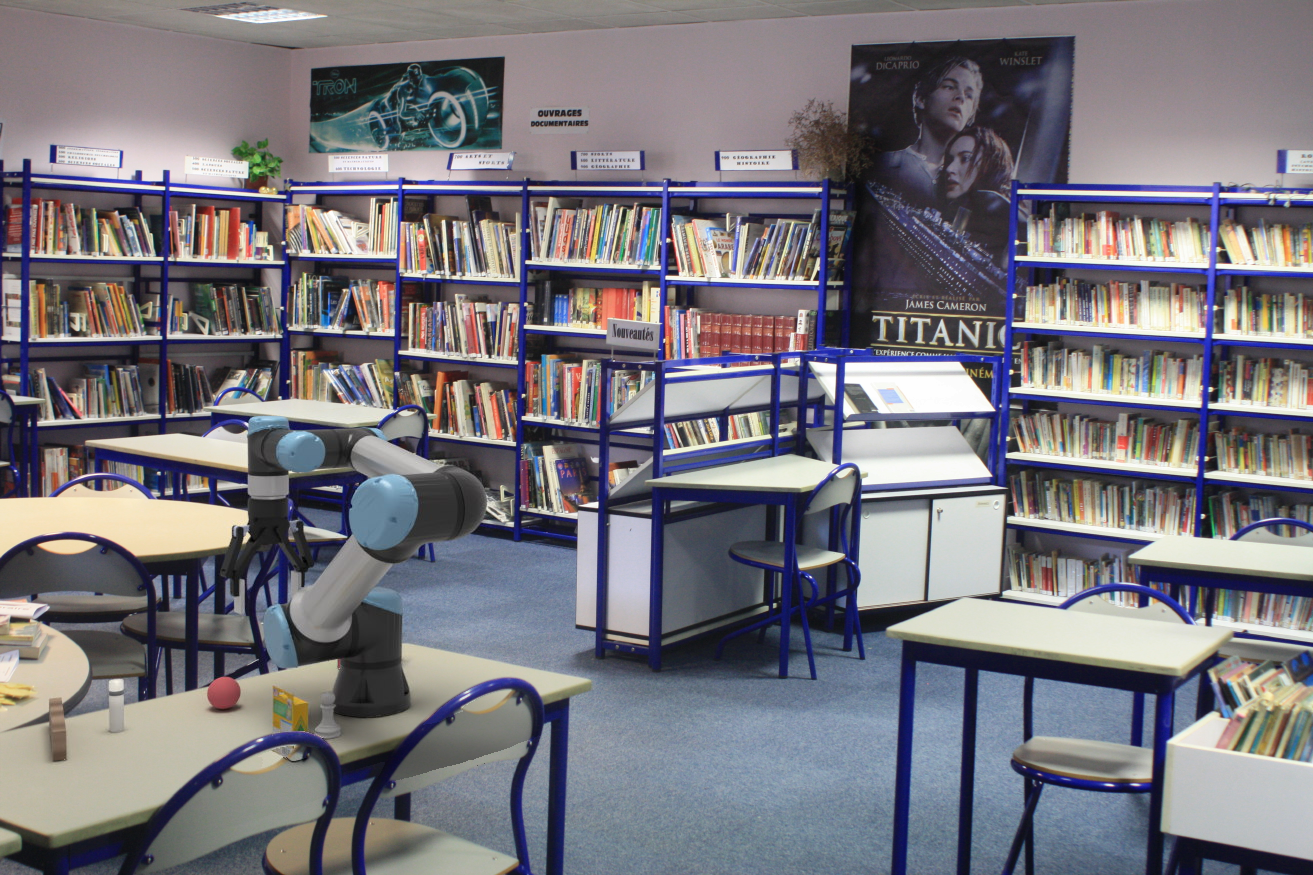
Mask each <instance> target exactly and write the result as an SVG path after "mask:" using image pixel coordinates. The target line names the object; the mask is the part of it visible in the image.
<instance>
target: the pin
mask: <svg viewBox="0 0 1313 875" xmlns="http://www.w3.org/2000/svg"><path fill="white" fill-rule="evenodd" d="M124 684H125V683H124V679H123V678H114V679H110V680H109V681H108V722H109V724H108V728H109V729H108V732H109V733H120V732H123V731H124V730H125V723H124V722H125V716H124V715H125V714H124V713H125V704H124V703H125V702H124V701H125V699H124V698H125V696H124V695H125V687H124Z"/></svg>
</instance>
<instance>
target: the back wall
mask: <svg viewBox="0 0 1313 875" xmlns="http://www.w3.org/2000/svg"><path fill="white" fill-rule="evenodd" d="M64 713H65V712H64V707H63V699H62V697H52V698H51V697H50V698H48V716H49V718H48V720H49V721H48V722H49V723H48V724H49V725H48V726H50V727H49V736H51V737H50V744H51V746H52V747H51V746H50V747H51V754H52V755H51V756H52V762H53V761H54V762H56V761H55V760H62V761H65V760H64V759H66V760H67V726H66V721H65V720H66V719H65V714H64Z"/></svg>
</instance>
